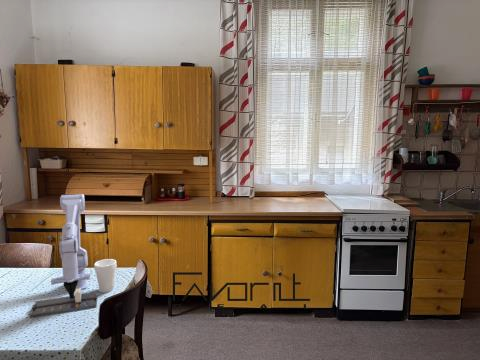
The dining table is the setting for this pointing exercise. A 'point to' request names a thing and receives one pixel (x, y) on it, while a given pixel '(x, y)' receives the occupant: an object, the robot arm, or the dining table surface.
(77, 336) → the dining table surface
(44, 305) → the console
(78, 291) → the block
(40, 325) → the dining table surface
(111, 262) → the foam cup
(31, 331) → the dining table surface
